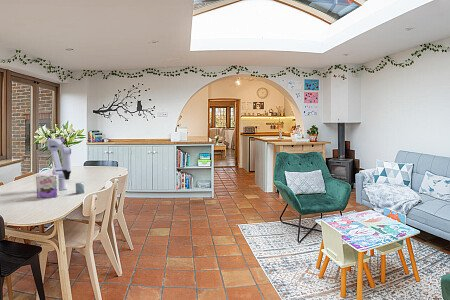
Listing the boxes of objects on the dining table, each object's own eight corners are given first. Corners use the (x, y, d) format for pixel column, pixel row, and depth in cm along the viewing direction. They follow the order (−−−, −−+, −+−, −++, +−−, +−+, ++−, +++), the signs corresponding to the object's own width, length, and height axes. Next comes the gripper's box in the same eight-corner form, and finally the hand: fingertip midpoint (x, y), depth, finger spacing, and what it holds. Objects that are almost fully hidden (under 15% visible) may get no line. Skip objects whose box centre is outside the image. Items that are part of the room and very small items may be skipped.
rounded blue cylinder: (74, 192, 245) (74, 183, 245) (82, 191, 249) (82, 182, 249) (77, 194, 241) (76, 184, 240) (85, 193, 245) (84, 183, 244)
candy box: (36, 198, 228) (35, 176, 227) (39, 196, 234) (38, 174, 233) (56, 197, 231) (56, 175, 230) (59, 195, 237) (58, 174, 235)
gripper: (58, 162, 249) (59, 178, 250) (63, 163, 238) (63, 181, 239) (68, 161, 253) (68, 177, 254) (72, 163, 242) (73, 180, 243)
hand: (67, 179), depth 247 cm, fingers closed
